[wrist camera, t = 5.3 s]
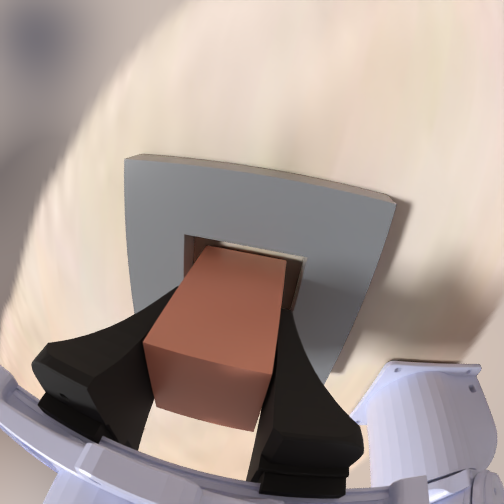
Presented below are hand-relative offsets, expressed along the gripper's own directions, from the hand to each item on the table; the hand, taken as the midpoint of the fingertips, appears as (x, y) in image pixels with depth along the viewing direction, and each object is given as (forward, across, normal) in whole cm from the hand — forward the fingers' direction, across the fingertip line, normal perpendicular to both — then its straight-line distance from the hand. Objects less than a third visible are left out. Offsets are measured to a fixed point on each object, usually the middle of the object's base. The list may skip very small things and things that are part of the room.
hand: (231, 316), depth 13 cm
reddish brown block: (+3, 0, 0) cm, 3 cm away
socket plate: (+3, 0, 0) cm, 3 cm away
